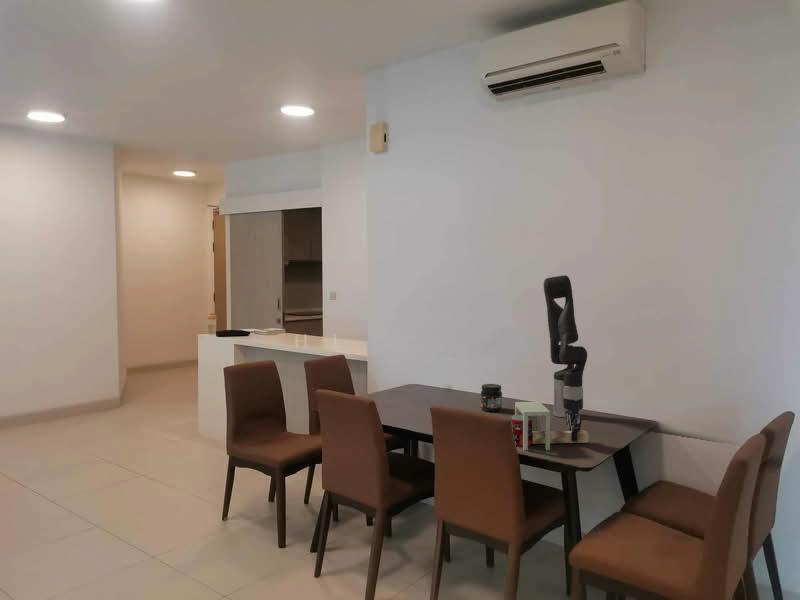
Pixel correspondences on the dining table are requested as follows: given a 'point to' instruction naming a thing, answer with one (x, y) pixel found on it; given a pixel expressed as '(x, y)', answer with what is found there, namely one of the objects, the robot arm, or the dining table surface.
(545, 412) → the stand
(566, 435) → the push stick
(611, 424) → the dining table surface
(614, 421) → the dining table surface
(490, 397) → the supplement container
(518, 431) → the canned food
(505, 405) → the dining table surface
